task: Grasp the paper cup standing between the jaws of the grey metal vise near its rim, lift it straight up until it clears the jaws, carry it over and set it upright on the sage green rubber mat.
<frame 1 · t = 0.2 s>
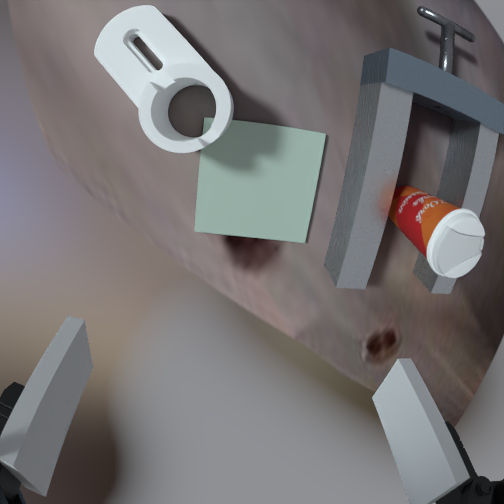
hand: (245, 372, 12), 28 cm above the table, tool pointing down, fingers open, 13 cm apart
vise: (403, 204, 38), on the table
mat: (257, 181, 36), on the table
paper cup: (402, 204, 38), resting in vise
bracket: (166, 74, 30), on the table, touching mat
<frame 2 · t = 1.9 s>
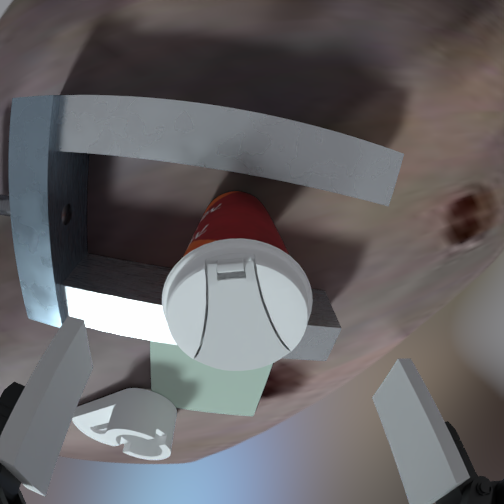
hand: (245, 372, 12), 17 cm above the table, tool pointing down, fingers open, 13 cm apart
vise: (236, 222, 27), on the table
mat: (208, 377, 35), on the table
paper cup: (236, 221, 27), resting in vise
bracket: (122, 413, 39), on the table, touching mat
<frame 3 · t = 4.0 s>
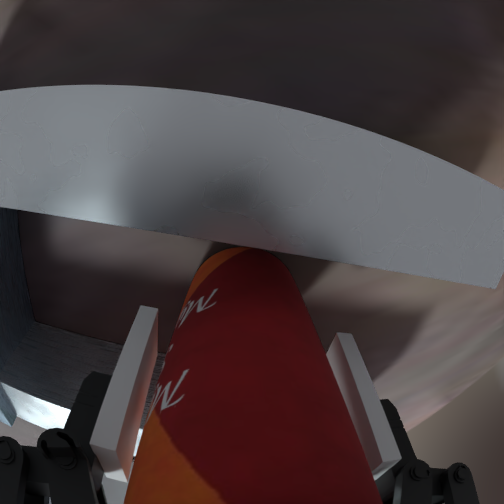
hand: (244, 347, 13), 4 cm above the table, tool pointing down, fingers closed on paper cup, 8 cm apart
vise: (243, 294, 17), on the table
paper cup: (243, 291, 17), resting in vise, touching gripper
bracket: (109, 474, 29), on the table, touching mat
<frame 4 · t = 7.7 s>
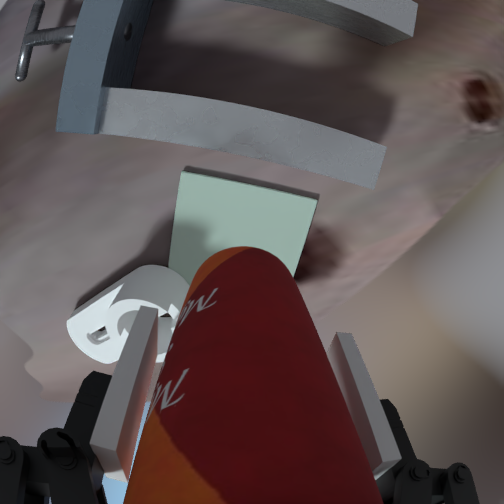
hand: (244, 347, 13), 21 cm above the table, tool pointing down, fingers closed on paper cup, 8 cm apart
vise: (280, 60, 25), on the table
mat: (236, 246, 34), on the table
paper cup: (243, 291, 17), point 16 cm above the table, touching gripper
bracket: (127, 313, 37), on the table, touching mat
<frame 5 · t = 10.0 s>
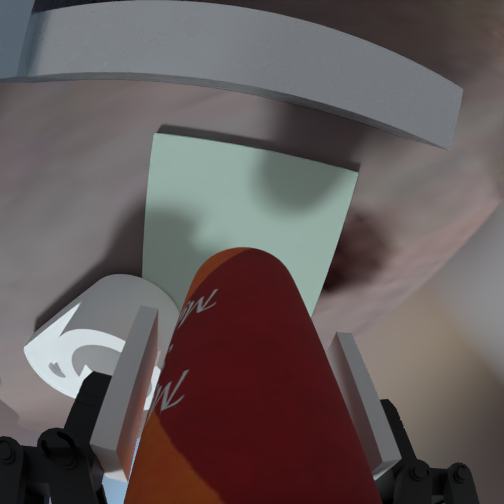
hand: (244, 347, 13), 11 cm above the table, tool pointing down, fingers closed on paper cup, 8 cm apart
mat: (239, 243, 23), on the table
paper cup: (243, 292, 17), point 6 cm above the table, touching gripper
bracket: (96, 338, 26), on the table, touching mat
when the fingers open (6 cm above the table, at t = 11.9 s): paper cup stays where it is, resting on mat.
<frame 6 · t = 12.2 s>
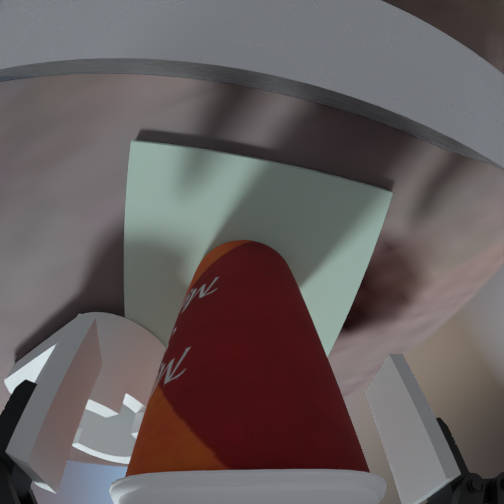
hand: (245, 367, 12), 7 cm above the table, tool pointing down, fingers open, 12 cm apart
mat: (242, 278, 18), on the table
paper cup: (243, 283, 18), resting on mat
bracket: (80, 375, 22), on the table, touching mat
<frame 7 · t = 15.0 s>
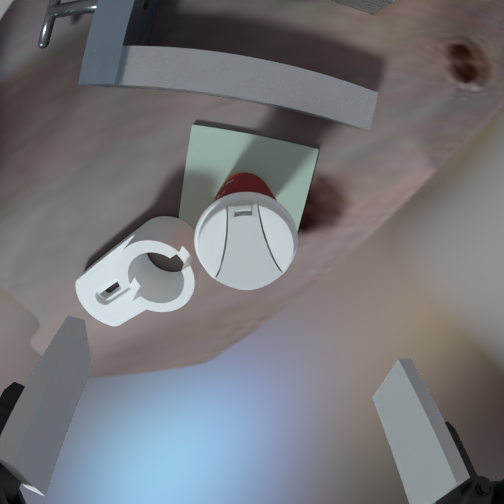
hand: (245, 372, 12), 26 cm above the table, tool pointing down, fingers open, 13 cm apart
vise: (280, 27, 26), on the table
mat: (244, 194, 35), on the table
paper cup: (244, 196, 35), resting on mat
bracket: (137, 270, 38), on the table, touching mat
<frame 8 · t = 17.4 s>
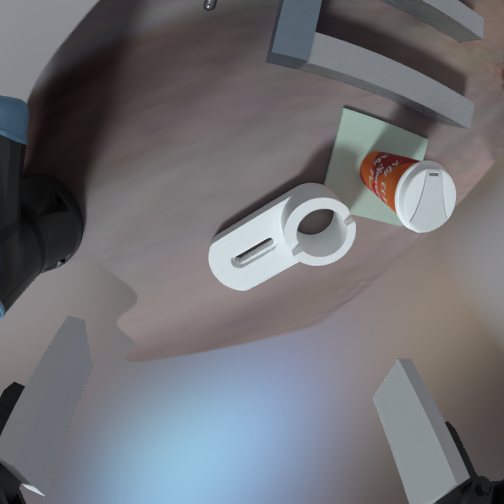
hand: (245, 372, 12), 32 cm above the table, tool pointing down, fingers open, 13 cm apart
vise: (404, 43, 31), on the table
mat: (375, 170, 40), on the table
paper cup: (377, 170, 39), resting on mat
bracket: (275, 233, 43), on the table, touching mat
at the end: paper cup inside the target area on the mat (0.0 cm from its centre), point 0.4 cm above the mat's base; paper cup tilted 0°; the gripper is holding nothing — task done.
